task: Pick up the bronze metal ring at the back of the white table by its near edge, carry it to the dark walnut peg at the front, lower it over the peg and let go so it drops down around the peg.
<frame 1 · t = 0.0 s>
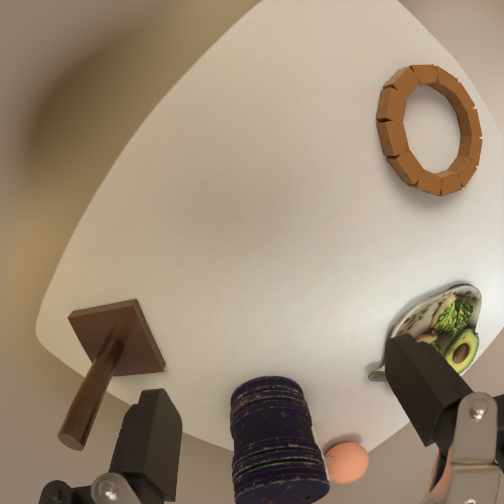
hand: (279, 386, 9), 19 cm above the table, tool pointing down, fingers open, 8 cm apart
avocado toast plate: (433, 337, 35), on the table
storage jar: (267, 400, 35), on the table
ring: (430, 128, 25), on the table
toy ball: (340, 445, 41), on the table
peg: (117, 338, 30), on the table
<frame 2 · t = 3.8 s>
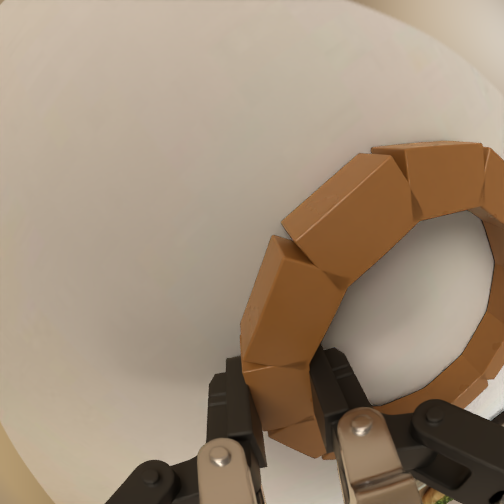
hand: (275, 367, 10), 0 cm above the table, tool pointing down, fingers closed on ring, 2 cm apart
avocado toast plate: (465, 458, 19), on the table
ring: (415, 320, 10), on the table, touching gripper
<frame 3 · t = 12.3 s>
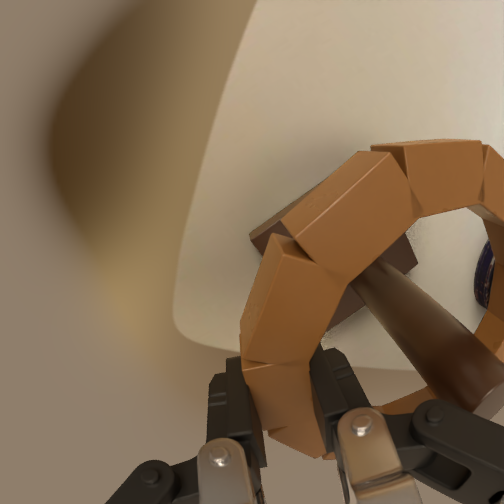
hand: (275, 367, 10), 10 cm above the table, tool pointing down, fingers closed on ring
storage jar: (500, 265, 22), on the table
ring: (415, 319, 10), point 10 cm above the table, touching gripper
peg: (338, 246, 20), on the table
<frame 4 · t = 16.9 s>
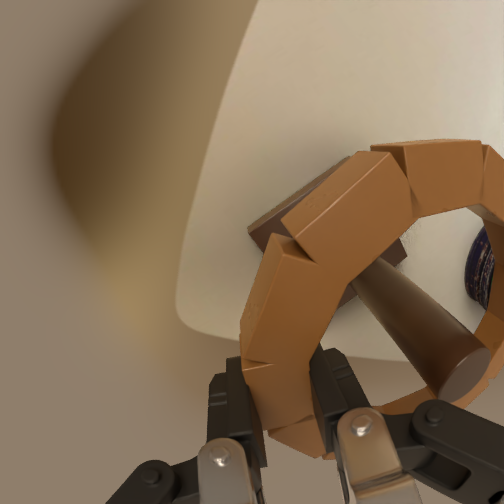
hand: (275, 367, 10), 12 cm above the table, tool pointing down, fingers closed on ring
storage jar: (491, 260, 24), on the table
ring: (415, 319, 10), point 12 cm above the table, touching gripper
peg: (331, 239, 21), on the table
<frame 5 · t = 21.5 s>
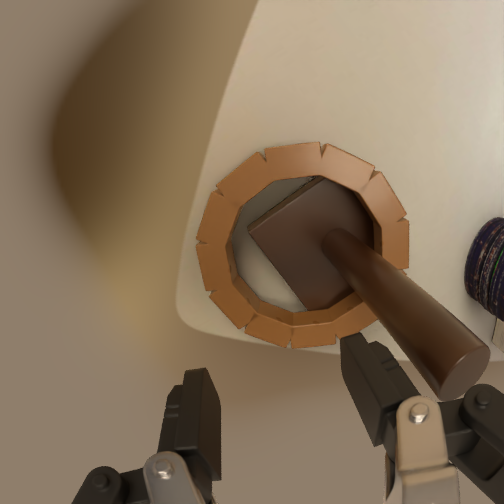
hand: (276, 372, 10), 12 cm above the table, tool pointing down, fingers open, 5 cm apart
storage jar: (490, 259, 24), on the table
ring: (304, 247, 20), point 1 cm above the table, tilted 11°, touching peg
peg: (331, 238, 22), on the table
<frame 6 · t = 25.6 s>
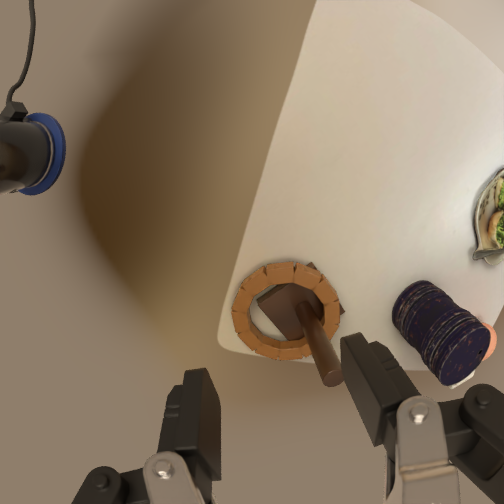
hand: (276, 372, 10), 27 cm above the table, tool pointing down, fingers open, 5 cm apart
avocado toast plate: (500, 215, 39), on the table
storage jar: (415, 306, 43), on the table
ring: (286, 311, 39), point 1 cm above the table, tilted 11°, touching peg
toy ball: (469, 331, 47), on the table
peg: (301, 303, 40), on the table
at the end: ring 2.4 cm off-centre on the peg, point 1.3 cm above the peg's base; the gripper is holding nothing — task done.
